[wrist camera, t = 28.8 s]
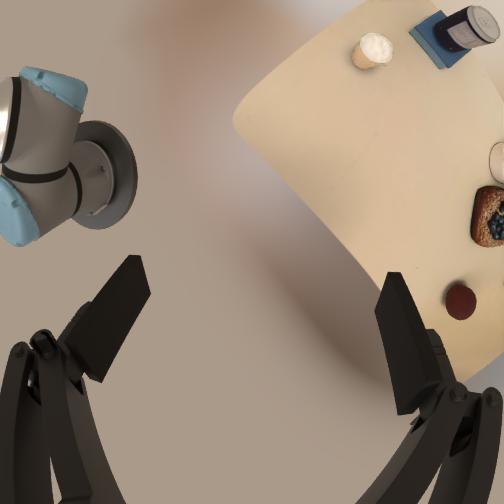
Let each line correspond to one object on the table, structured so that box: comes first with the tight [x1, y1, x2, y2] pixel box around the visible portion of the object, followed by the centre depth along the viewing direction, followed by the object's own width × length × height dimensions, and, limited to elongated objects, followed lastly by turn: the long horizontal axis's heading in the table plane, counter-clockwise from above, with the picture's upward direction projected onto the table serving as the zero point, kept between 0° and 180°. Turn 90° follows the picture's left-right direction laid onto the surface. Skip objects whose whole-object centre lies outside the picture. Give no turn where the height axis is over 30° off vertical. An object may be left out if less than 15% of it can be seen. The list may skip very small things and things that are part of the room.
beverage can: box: [434, 6, 500, 53], centre depth 18 cm, size 6×6×12 cm
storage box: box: [409, 10, 472, 69], centre depth 25 cm, size 8×8×4 cm
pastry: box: [471, 186, 504, 247], centre depth 35 cm, size 11×12×6 cm
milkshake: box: [352, 33, 393, 69], centre depth 27 cm, size 4×5×10 cm
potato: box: [446, 285, 477, 320], centre depth 43 cm, size 7×8×7 cm
